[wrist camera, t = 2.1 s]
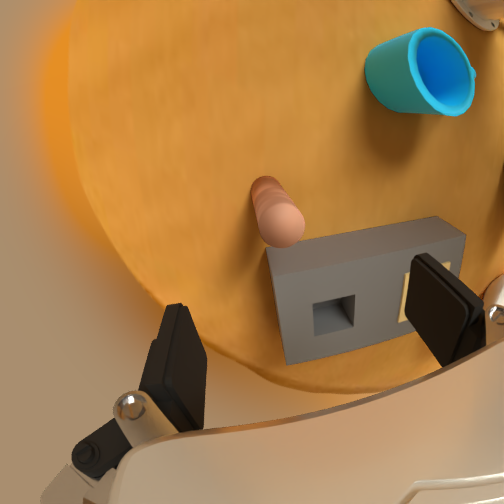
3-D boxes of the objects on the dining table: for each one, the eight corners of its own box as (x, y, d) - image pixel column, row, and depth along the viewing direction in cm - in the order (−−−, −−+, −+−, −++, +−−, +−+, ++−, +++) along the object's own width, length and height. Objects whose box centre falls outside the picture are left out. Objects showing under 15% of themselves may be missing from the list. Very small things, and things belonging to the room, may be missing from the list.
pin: (278, 173, 26) (302, 201, 17) (283, 202, 28) (307, 243, 19) (248, 179, 26) (255, 209, 17) (253, 208, 28) (263, 251, 19)
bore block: (436, 216, 29) (467, 235, 23) (426, 294, 34) (448, 320, 29) (265, 247, 30) (273, 278, 24) (279, 331, 35) (287, 367, 29)
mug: (376, 118, 24) (422, 121, 17) (354, 45, 21) (393, 24, 13) (453, 106, 23) (501, 112, 16) (436, 44, 20) (482, 35, 12)
